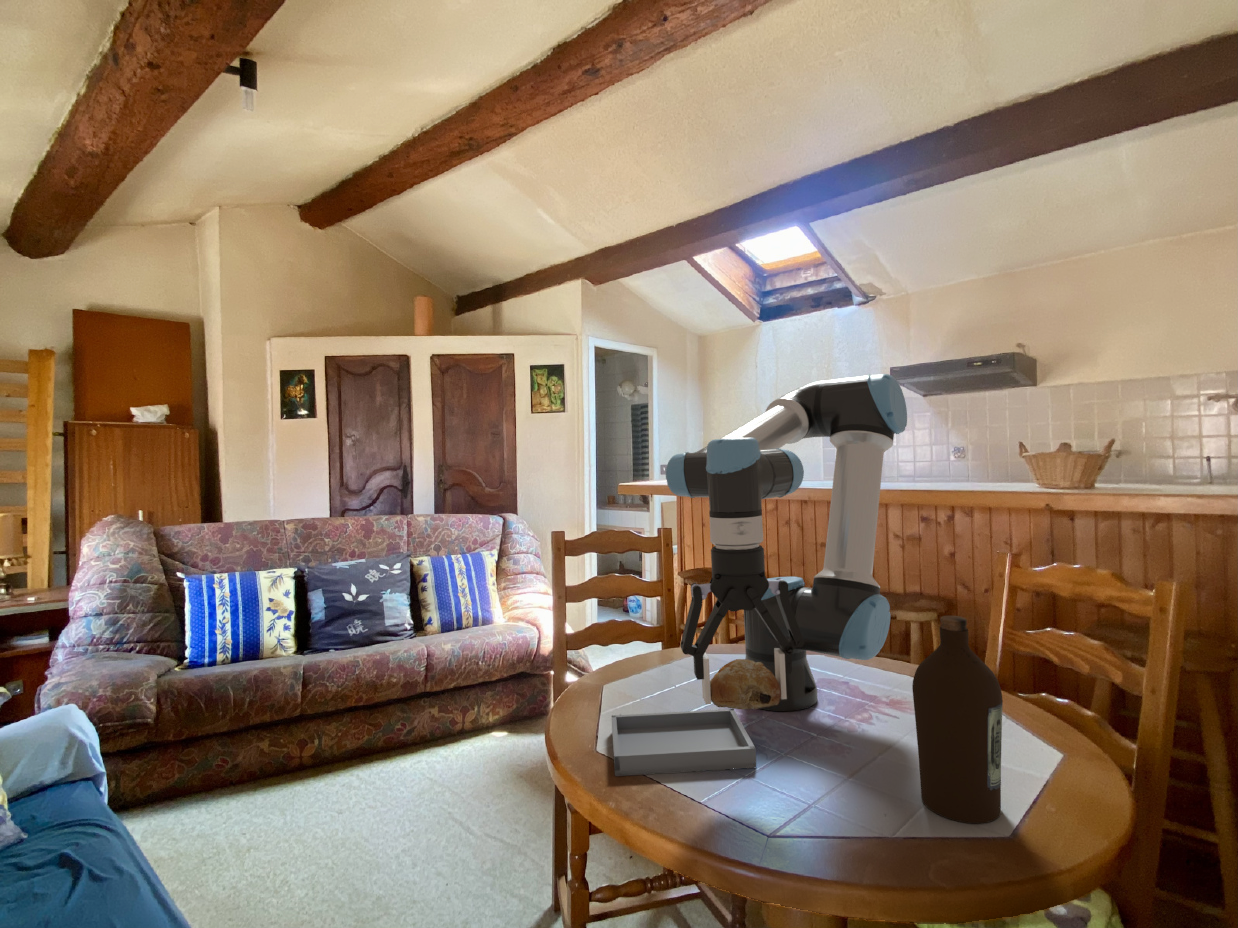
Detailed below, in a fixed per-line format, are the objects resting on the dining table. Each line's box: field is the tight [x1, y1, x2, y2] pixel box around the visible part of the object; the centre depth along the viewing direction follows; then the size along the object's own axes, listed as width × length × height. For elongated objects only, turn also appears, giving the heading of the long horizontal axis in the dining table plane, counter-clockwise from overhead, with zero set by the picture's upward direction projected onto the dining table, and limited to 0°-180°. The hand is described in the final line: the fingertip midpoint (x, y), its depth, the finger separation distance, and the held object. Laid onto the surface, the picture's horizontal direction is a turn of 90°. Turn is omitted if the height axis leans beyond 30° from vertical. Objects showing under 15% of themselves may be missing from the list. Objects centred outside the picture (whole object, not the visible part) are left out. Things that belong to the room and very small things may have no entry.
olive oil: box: [911, 615, 1004, 824], centre depth 86 cm, size 11×11×25 cm
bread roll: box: [710, 658, 781, 710], centre depth 93 cm, size 10×10×8 cm
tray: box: [611, 708, 757, 777], centre depth 106 cm, size 22×16×3 cm
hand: (744, 698), depth 93 cm, fingers closed on bread roll, 10 cm apart
